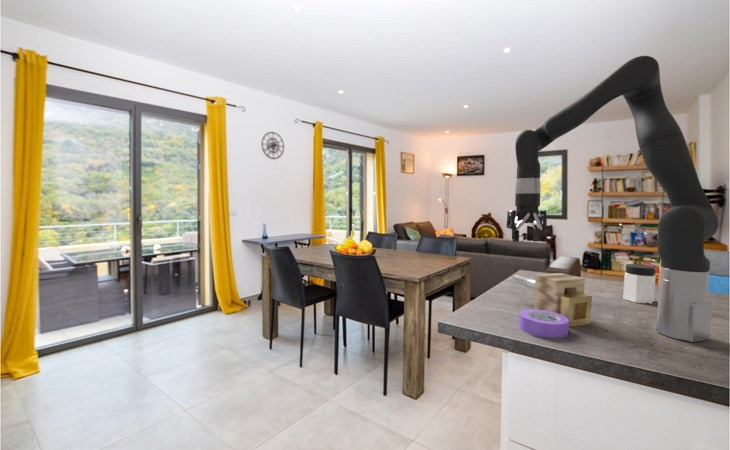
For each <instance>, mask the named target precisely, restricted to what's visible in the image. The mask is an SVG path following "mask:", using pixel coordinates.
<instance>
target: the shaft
mask: <svg viewBox="0 0 730 450" xmlns="http://www.w3.org/2000/svg"><path fill="white" fill-rule="evenodd" d="M512 281H513V283H515V284H518V285H521V286H524V287H526V288H529V289H532V290H535V278H531V277H527V276H524V275H522V274H514V276H513V277H512ZM564 295H566V289H565V288H564Z"/></svg>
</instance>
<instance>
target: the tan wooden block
mask: <svg viewBox="0 0 730 450" xmlns="http://www.w3.org/2000/svg"><path fill="white" fill-rule="evenodd" d="M534 276H535V277H534V279H535V289H534V296H533V297H534V299H533V309H535V310H545V311H550V312H554V313H557V314H559V309H560V295H564V288H565V289H566V295H568V294H579V293H584V294H585V278H584V277H579V276H576V275H571V274H567V273H563V272H558V273H546V274H543V273H541V274H535V275H534ZM574 315H577V304H574V309H573V316H574Z"/></svg>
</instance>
